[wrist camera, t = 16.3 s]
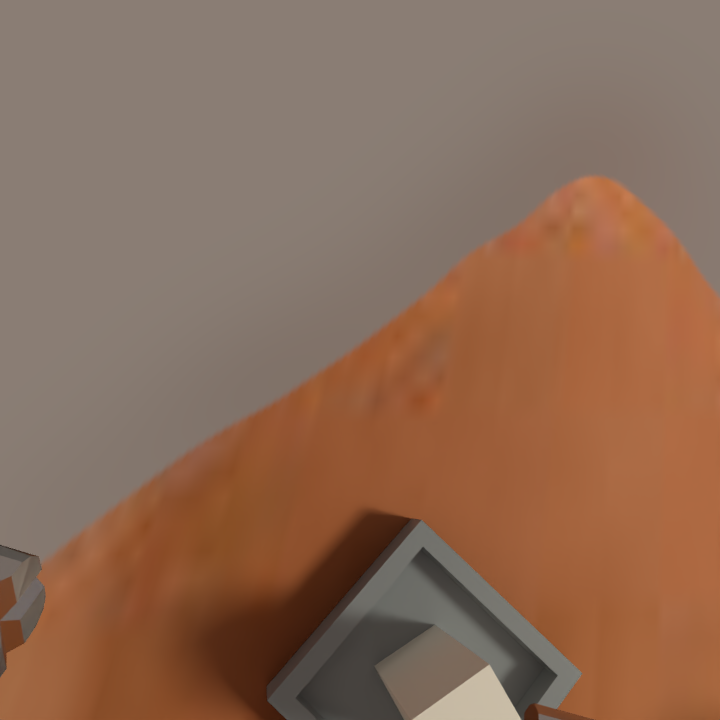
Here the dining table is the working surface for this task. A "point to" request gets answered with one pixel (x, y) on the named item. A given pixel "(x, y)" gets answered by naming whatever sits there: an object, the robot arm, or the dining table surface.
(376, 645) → the grey tray
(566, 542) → the dining table surface
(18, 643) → the robot arm
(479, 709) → the cream block
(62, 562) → the dining table surface
